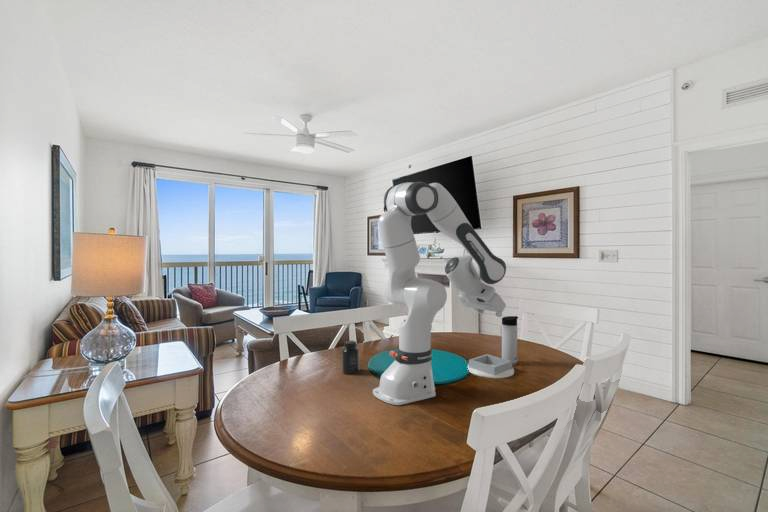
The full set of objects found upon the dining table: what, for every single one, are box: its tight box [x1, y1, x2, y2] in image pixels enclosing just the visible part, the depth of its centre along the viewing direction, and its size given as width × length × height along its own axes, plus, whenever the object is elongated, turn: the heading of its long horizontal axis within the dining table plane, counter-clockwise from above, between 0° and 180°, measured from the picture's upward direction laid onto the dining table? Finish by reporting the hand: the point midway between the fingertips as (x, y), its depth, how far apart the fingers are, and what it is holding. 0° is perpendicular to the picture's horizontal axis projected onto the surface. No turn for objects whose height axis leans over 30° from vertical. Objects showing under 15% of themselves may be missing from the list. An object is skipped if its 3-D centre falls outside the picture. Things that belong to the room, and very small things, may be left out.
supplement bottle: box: [341, 340, 360, 375], centre depth 143 cm, size 7×7×12 cm
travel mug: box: [501, 315, 519, 366], centre depth 152 cm, size 6×7×20 cm
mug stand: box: [466, 353, 515, 380], centre depth 143 cm, size 18×18×4 cm
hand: (490, 313), depth 145 cm, fingers open, 8 cm apart
